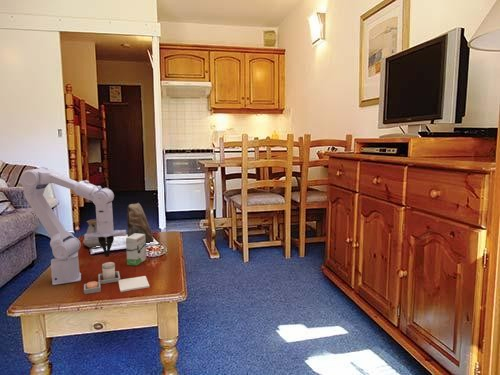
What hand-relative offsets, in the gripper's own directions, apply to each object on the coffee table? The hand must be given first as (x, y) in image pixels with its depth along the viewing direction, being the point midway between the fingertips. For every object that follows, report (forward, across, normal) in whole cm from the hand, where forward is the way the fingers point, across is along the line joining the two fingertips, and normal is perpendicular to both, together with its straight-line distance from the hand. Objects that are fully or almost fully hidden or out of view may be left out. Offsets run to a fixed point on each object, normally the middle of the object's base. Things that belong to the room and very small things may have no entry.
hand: (107, 256), depth 137 cm
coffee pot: (+10, -4, +43) cm, 44 cm away
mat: (+9, +8, -8) cm, 15 cm away
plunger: (+9, -6, -8) cm, 13 cm away
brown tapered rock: (+10, +17, +42) cm, 47 cm away
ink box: (+10, +12, +16) cm, 22 cm away
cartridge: (+9, 0, 0) cm, 9 cm away
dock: (+9, -2, -3) cm, 10 cm away
